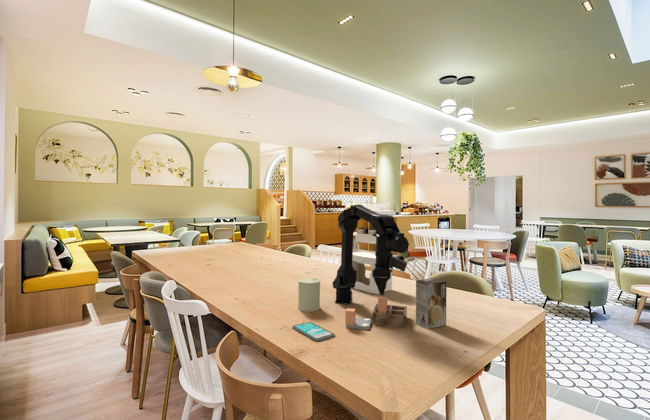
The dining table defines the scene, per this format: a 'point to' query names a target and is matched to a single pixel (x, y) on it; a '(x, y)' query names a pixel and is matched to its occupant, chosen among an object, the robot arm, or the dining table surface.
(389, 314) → the socket block
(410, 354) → the dining table surface
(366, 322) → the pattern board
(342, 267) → the robot arm
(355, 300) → the dining table surface
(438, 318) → the coffee box
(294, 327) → the smartphone
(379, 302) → the peg
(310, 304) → the can
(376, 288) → the gable box
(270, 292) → the dining table surface
